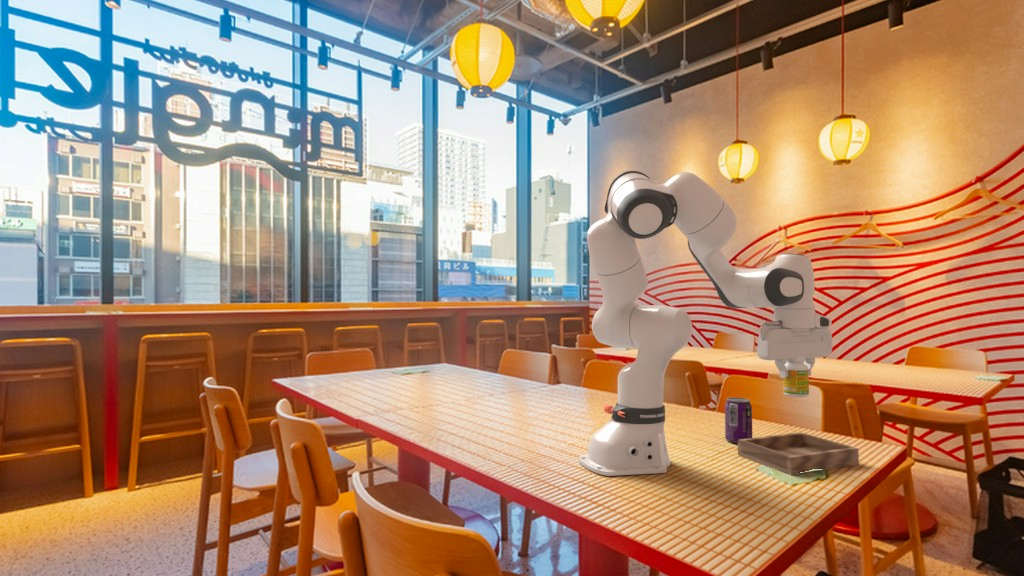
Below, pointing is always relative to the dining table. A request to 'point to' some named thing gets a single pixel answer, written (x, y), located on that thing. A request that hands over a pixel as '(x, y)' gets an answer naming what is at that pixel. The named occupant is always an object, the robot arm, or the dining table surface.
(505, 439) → the dining table surface
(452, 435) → the dining table surface
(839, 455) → the serving tray
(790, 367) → the supplement bottle
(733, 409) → the beverage can
